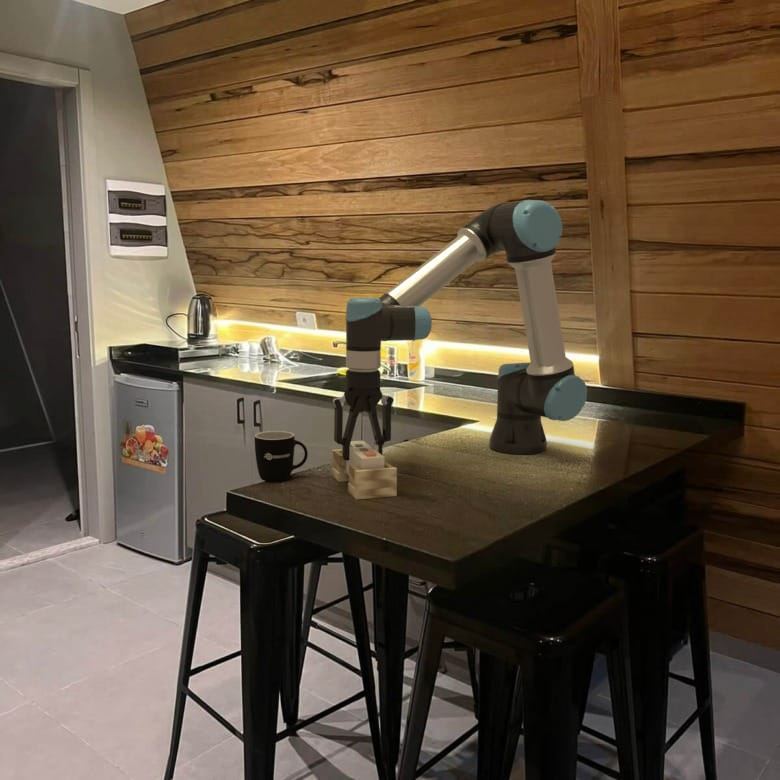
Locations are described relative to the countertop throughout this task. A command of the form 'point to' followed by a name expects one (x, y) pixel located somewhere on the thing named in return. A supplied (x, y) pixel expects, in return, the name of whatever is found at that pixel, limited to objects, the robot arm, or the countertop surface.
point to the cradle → (365, 478)
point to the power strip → (365, 456)
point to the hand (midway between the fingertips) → (362, 473)
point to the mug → (276, 455)
